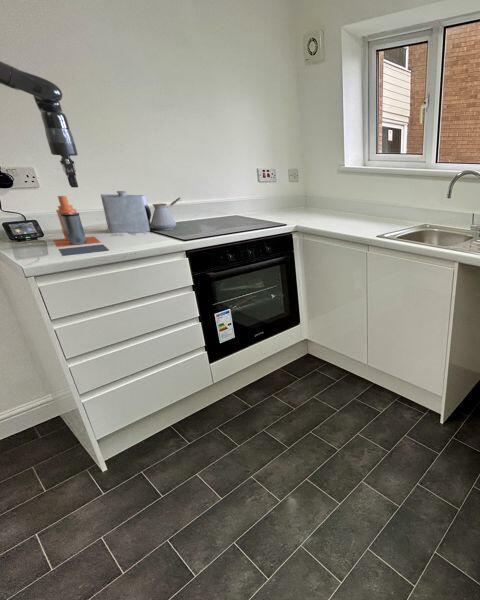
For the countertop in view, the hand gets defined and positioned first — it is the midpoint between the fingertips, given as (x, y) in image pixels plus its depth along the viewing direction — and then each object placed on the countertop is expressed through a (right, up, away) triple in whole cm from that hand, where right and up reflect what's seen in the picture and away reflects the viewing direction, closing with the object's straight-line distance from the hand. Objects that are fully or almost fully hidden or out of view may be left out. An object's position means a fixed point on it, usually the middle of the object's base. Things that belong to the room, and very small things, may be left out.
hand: (74, 186), depth 138 cm
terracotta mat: (-11, -20, +14) cm, 27 cm away
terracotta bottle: (-15, -18, +17) cm, 29 cm away
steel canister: (-8, -21, +10) cm, 24 cm away
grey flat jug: (-11, -8, +44) cm, 46 cm away
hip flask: (-6, -11, +37) cm, 39 cm away
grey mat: (+3, -25, +2) cm, 25 cm away
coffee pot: (+4, -6, +52) cm, 53 cm away
